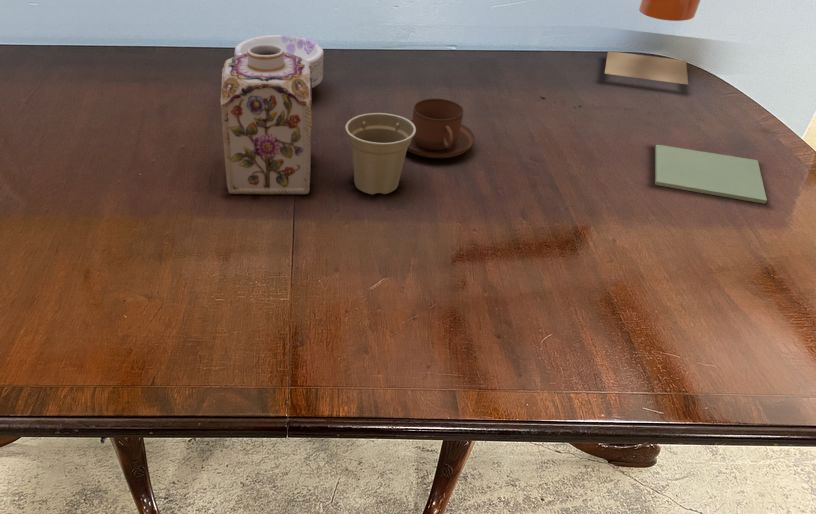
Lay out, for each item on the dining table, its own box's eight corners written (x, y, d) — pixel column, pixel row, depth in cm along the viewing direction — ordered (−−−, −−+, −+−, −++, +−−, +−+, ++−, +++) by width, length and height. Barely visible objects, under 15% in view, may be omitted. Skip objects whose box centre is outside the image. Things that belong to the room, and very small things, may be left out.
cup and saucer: (489, 152, 102) (496, 114, 98) (427, 173, 97) (433, 134, 93) (437, 123, 110) (443, 86, 105) (378, 141, 105) (381, 103, 101)
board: (683, 68, 126) (686, 60, 125) (685, 92, 118) (688, 84, 117) (605, 58, 130) (607, 50, 129) (602, 81, 122) (604, 73, 121)
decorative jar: (226, 196, 93) (214, 66, 81) (233, 155, 101) (224, 33, 89) (312, 196, 93) (313, 66, 81) (312, 155, 101) (313, 33, 89)
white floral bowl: (331, 80, 123) (332, 36, 117) (311, 116, 112) (311, 68, 106) (252, 73, 125) (249, 29, 120) (225, 106, 114) (221, 60, 109)
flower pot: (353, 163, 100) (356, 108, 94) (415, 174, 97) (422, 117, 91) (334, 195, 93) (336, 137, 87) (400, 206, 91) (407, 148, 85)
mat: (756, 163, 99) (757, 160, 99) (765, 204, 91) (767, 200, 90) (654, 147, 103) (656, 144, 103) (654, 185, 95) (656, 181, 94)
